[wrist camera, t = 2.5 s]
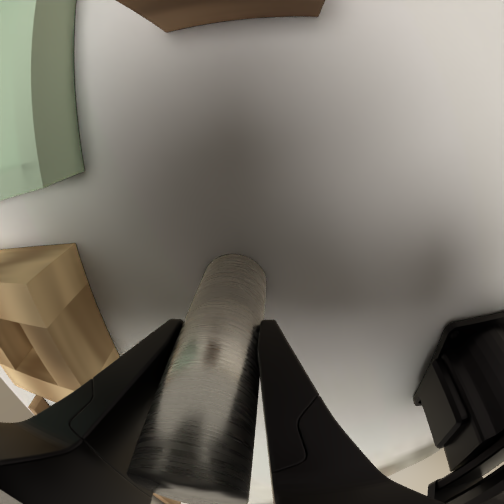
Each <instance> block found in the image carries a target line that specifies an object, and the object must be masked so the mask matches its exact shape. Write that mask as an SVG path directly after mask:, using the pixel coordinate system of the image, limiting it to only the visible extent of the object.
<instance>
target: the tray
mask: <svg viewBox="0 0 504 504" xmlns="http://www.w3.org/2000/svg"><path fill="white" fill-rule="evenodd" d="M75 7H76V0H0V201H2V200H5V199H8V198H11V197H14V196H18V195H21V194H24V193H28V192H31V191H35V190H38V189H42V188H45V187H47V186H50V185H52V184H54V183H56V182H59V181H61V180H64V179H66V178H69V177H71V176H73V175H76V174H79V173H81V172H84V171H85V170H84V165H83V159H82V152H81V146H80V138H79V130H78V122H77V112H76V100H75V85H74V21H75Z"/></svg>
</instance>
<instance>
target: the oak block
mask: <svg viewBox="0 0 504 504" xmlns="http://www.w3.org/2000/svg"><path fill="white" fill-rule="evenodd" d="M119 357H120V356H119V354H118V352H117V350H116V348H115V346H114V343H113V341H112V339H111V337H110V335H109V333H108V330H107V328H106V326H105V323H104V321H103V319H102V316H101V314H100V312H99V309H98V307H97V304H96V302H95V299H94V296H93V294H92V291H91V289H90V286H89V283H88V280H87V277H86V275H85V272H84V269H83V266H82V263H81V260H80V257H79V253H78V250H77V247H76V244H75V243H72V244H59V245H46V246H34V247H23V248H11V249H1V250H0V365H1V366H2V368H3V369H4V371H5V372H6V374H7V375H8V376H9V378H10V379H11V380H12V382H13V383H14V384H15V385H16V386H18V387H20V388H22V389H25V390H27V391H29V392H31V393H34V394H36V395H39V396H41V397H43V398H46V399H49V400H51V401H54V402H56V403H57V402H58V401H60V400H61V399H63V398H64V397H66V396H68V395H69V394H71V393H72V392H74V391H75V390H76V389H78V388H79V387H81V386H82V385H83V384H85V383H86V382H87V381H89V380H90V379H93V377H94V376H95V375H97V374H98V373H99V372H101V371H102V370H103V369H105V368H106V367H107V366H109V365H110V364H111V363H113V362H114V361H115V360H117V359H118V358H119Z"/></svg>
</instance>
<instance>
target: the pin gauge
mask: <svg viewBox="0 0 504 504" xmlns="http://www.w3.org/2000/svg"><path fill="white" fill-rule="evenodd" d="M265 297H266V277H265V274H264V271H263V270H262V268H261V267H260V266H259V265H258V264H257V263H256V262H255V261H254V260H252V259H250V258H248V257H246V256H243V255H238V254H227V255H223V256H220V257H218V258H216V259H215V260H213V261H212V262H211V263H210V264H209V266H208V267H207V269H206V271H205V274H204V276H203V278H202V281H201V283H200V285H199V288H198V290H197V292H196V295H195V297H194V299H193V302H192V304H191V306H190V309H189V311H188V314H187V316H186V318H185V321H184V323H183V326H182V328H181V330H180V333H179V335H178V338H177V340H176V343H175V345H174V348H173V350H172V353H171V355H170V358H169V360H168V363H167V365H166V368H165V370H164V373H163V375H162V378H161V380H160V383H159V386H158V388H157V391H156V393H155V396H154V399H153V401H152V404H151V407H150V409H149V412H148V415H147V417H146V420H145V423H144V425H143V428H142V431H141V434H140V436H139V439H138V442H137V445H136V447H135V450H134V453H133V456H132V459H131V462H130V465H129V467H128V470H127V476H128V477H129V478H130V479H131V480H132V481H133V482H134V483H136V484H137V485H139V486H141V487H143V488H145V489H147V490H149V491H151V492H153V493H155V494H158V495H160V496H163V497H166V498H169V499H172V500H176V501H179V502H183V503H188V504H247V503H248V501H249V491H250V481H251V470H252V460H253V449H254V438H255V427H256V415H257V404H258V392H259V379H260V371H259V361H258V339H259V331H260V324H261V321H262V320H264V312H265Z"/></svg>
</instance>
